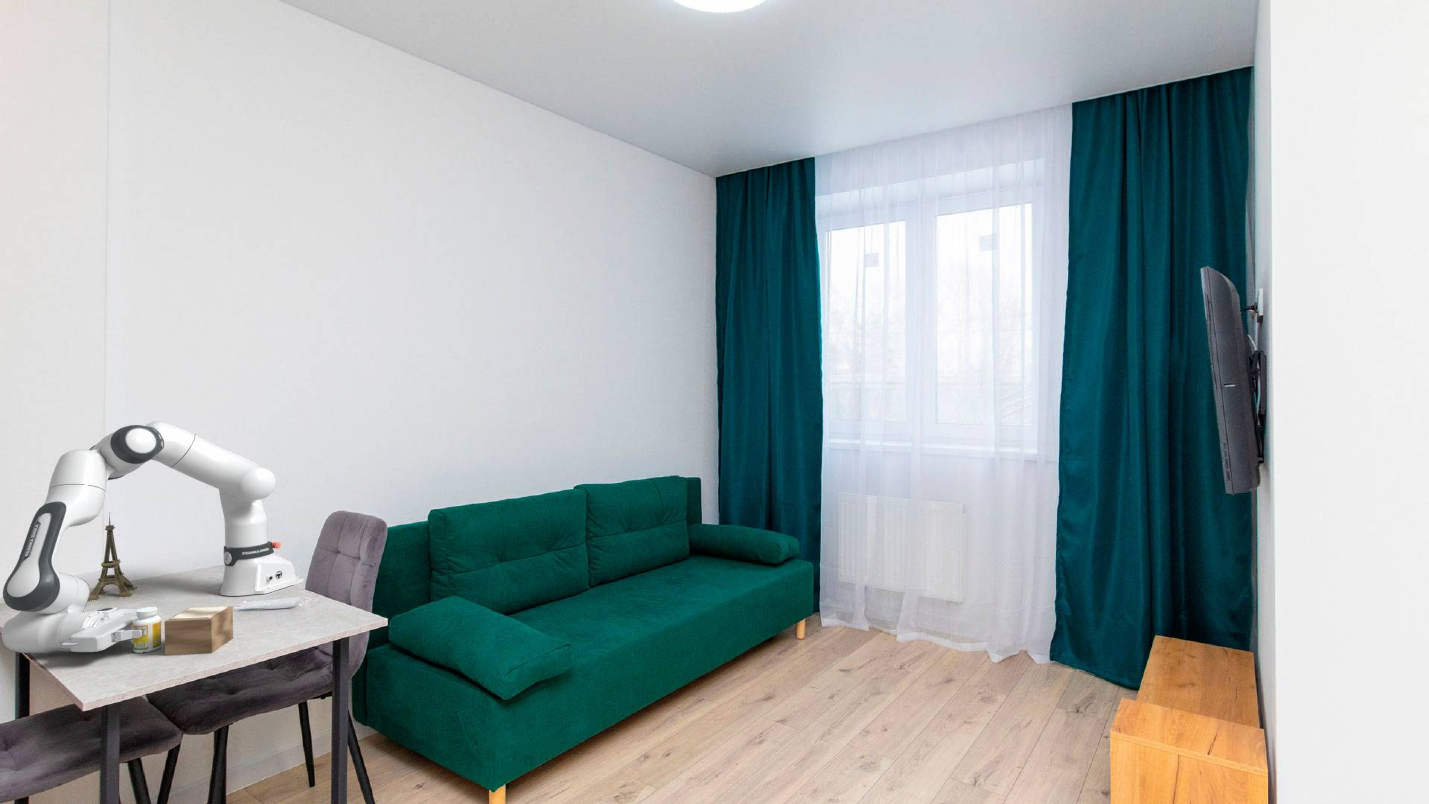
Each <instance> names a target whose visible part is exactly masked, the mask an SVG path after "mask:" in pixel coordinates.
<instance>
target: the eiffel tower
mask: <svg viewBox="0 0 1429 804" xmlns="http://www.w3.org/2000/svg"><path fill="white" fill-rule="evenodd" d="M108 512H109V513H108V515H109V516H108V517H109V519H108V520H109V521H108V524H107V525H106V526H105V528H104V531H106V539H105V548H104V556H103V557H104V558H103V562H101V564H100V566H101V567H102V568H101V574H100V577H99V578H98V579H97V580H98V582H97V584H96V585H95V586H94V588H93V590H91V591H90V596H89V599H88V602H93V601H92V600H96V601H98V599H99V598H100V597H99V595H103V594H104V593H105V592H104V591H105V590H104V587H106V586H109V585H115V586H116V587H117V589H118V592H119V595H118V598H119V597H122V598H129V597H132V595H133V592H130V590H131V591H136V590H137V588H138V587H137V586H135V585H133V583H132V582H131V581H130V580H129V579H127V577H126V576H125V575H124V574H125V573H124V572H122V570H121V569H122V568H121V566H120V564H121V559H120V558H119V559H118V553H117V547H116V543H115V537H114V536H115V535H114V529H116V527H115V524H111V516H110V515H111V512H110V511H108ZM110 555H111V560H110ZM109 569H113V572H114V574H108V571H109ZM135 589H136V590H135ZM103 592H104V593H103ZM102 593H103V594H102ZM90 600H91V601H90Z"/></svg>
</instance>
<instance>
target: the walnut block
mask: <svg viewBox="0 0 1429 804" xmlns="http://www.w3.org/2000/svg"><path fill="white" fill-rule="evenodd" d="M233 613H234V611H233V606H230V605H229V606H208V607H207V606H205V607H204V606H201V607H188V608H186V609H185V610H183V611H181V612H179V613H177V614H176V615H174V616H172V617H170V618H168V619H167V620H165V621H163V623H164V655H165V656H181V655H195V654H196V655H199V654H201V655H202V654H203V655H204V654H212V653H214V652H216V651H217V650H218V649H220V648H222V647H223V646H224V645H226V644H227V643H229V642H230V641H231V640H233V639H234V618H233V617H234V614H233Z"/></svg>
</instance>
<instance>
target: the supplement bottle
mask: <svg viewBox="0 0 1429 804" xmlns="http://www.w3.org/2000/svg"><path fill="white" fill-rule="evenodd" d="M138 609H139V610H137V611H136V616H137V617H138V618H137V619H136V620H134V622H133V630H134V629H141V628H143V629H144V635H143V636H141V637H140V638H132V651H133V652H134V653H137V654H143V652H145V653H149V652H153V651H156V650H158V649H160V648H161V647H162V625H161V624H162V618H161V616H159V615H158V607H157V606H147V607H141V608H138Z"/></svg>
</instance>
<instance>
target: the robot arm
mask: <svg viewBox="0 0 1429 804" xmlns="http://www.w3.org/2000/svg"><path fill="white" fill-rule="evenodd" d="M149 461H156V462H158V463H161V464H162V465H164V466H166V467H168V468H170V469H172V470H175V471H177V472H179V473H180V474H183V475H185V476H188V477H190V478H191V479H194V480H196V481H199V482H201V483H203V484H205V485H209V486H211V487H213V488H215V489H218V492H219V498H220V499H219V500H220V504H221V509H222V513H223V520H224V539H225V540H224V546H223V564H224V572H223V579H222V584H221V587H220V591H219V594H220V595H222V596H227V597H232V596H233V597H236V596H237V597H238V596H239V597H241V596H250V595H266V594H269V593H272V592H276V591H279V590H282V589H284V588H287V587H291V586H293V585H297V584H300V583H302V582H304V581H305V579H304V577H303V576H301V575H299V574H296V569H295V565H294V563H293V562H292V561H291V560H289V559H288V558H285V557H284V556H282V555H280V554H278V553H276V552H275V550H276V549H277V550H279V549H281V547H282V543H281V542H280V541H274V542H272V541H269V532H268V531H269V529H268V528H269V527H268V523H269V522H268V521H269V519H268V515H267V513H266V510H265V506H264V503H263V502H264V501H263V499H266V498H268V497H269V496H270V495H271V494H273V492H274V491H275V488H276V486H277V479H276V476H275V475H274V473H273V472H272V471H271V470H270V469H269V468H267V467H266V466H264V465H261V464H259V463H258V462H255V461H253V460H251V459H248V458H247V457H245V456H242V455H240V454H237V453H235V452H234V451H231V450H228V449H226V448H224V447H222V446H220V445H217V444H215V443H214V442H212V441H210V440H207V439H205V438H203V437H202V436H199V435H198V434H196V433H193V432H191V431H189V430H187V429H186V428H185V429H184V428H182V427H180V426H178V425H174V424H171V423H168V422H165V421H159V420H156V421H152V422H149V423H148V424H145V425H142V424H141V425H140V424H137V425H136V424H132V425H131V424H130V425H127V426H124V427H120V428H118V429H117V430H116V431H113V432H111V433H110V434H108V435H106V436H104V437H103V438H102V439H101V440H100V441H99V442H97V443H96V444H94V445H93V446H91V447H90V448H89V449H84V448H82V449H81V448H80V449H79V448H78V449H73V450H69V451H67V452H65V453H63V454H62V455H61V456H60V457H59V459H58V460H57V463H56V465H55V467H54V470H53V472H52V475H51V477H50V482H49V485H48V486H49V487H48V490H47V493H46V494H47V495H46V499H45V501H44V503H43V505H41V506H40V507H39V509H38V510H37V511H36V513H35V514H34V516H33V518H32V521H31V523H30V525H29V529H28V531H27V533H26V536H25V538H24V539H25V540H24V543H23V545H22V549H21V551H20V555H19V557H18V560H17V562H16V565H15V567H14V569H13V570H12V571H11V573H10V575H9V576H8V577H7V580H6V581H5V583H4V585H3V589H2V598H3V601H4V603H5V604H6V606H8V607H9V608H10V609H13V610H14V611H18V613H17V614H16V615H15V616H14V617H11V618H10V619H8V620H7V621H6V622H5V623H4V625H3V626H2V629H1V640H2V643H3V645H4V647H6V648H7V649H8V650H10V651H13V652H15V653H22V654H43V653H44V654H47V653H48V654H49V653H53V652H56V651H60V652H61V651H62V652H67V653H68V652H69V653H71V652H73V653H95V652H101V651H104V650H106V649H108V648H109V647H112V646H114V645H115V644H117V643H119V642H122V641H126V640H130V639H132V640H133V638H140V637H141V636H143V635H144V629H143V628H141V629H134V630H133V622H134V620H136V619H137V618H138V617H137V616H136V611H137V610H139V609H140V608H121V609H118V608H117V607H116V606H115V607H114V606H112V607H110V606H109V607H106V608H102V609H97V610H91V611H85V608H86V607H87V604H88V602H89V601H88V599H89V596H90V594H91V588H90V585H89V583H88V582H87V581H86V580H84V579H83V578H81V577H79V576H74V575H72V574H68V573H64V572H61V571H58V569H57V568H56V566H55V558H56V555H57V552H58V549H59V545H60V543H61V540H62V536H63V534H64V532H65V531H66V530H67V529H68V528H71V527H73V528H74V527H78V526H82V525H86V524H87V523H88V524H89V523H90V522H92V521H93V520H95V519H96V518H97V517H98V516H99V515H100V513H101V511H102V510H103V506H104V503H105V496H106V491H107V482H108V481H113V480H118V479H120V478H123V477H125V476H126V475H129V474H130V473H133V472H135V471H136V470H138V469H139V468H140V467H142V466H144V464H145V463H147V462H149ZM274 549H275V550H274ZM162 625H163V624H162V623H161V626H162Z"/></svg>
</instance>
